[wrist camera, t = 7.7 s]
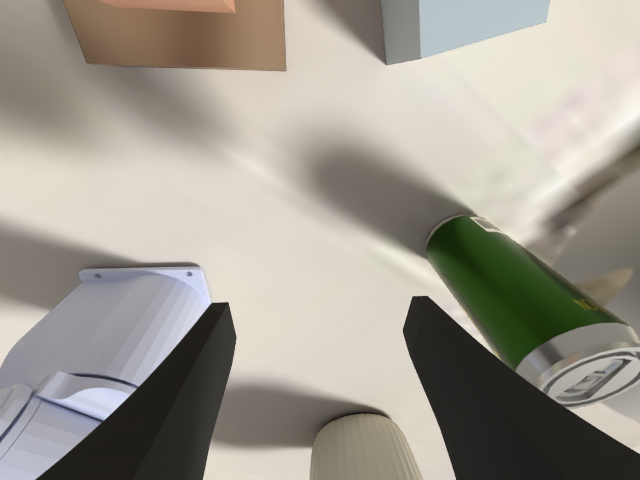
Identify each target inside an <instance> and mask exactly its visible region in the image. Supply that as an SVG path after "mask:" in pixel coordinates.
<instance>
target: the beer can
mask: <svg viewBox="0 0 640 480" xmlns="http://www.w3.org/2000/svg"><path fill="white" fill-rule="evenodd" d="M426 257H427V259H428V261H429V262H430V264H431V265H432V267H433V268H434V270H435V271H436V272H437V274H438V275H439V277H440V278H441V279H442V281H443V282H444V284H445V285H446V286H447V288H448V289H449V290H450V292H451V293H452V295H453V296H454V297H455V299H456V300H457V302H458V303H459V304H460V306H461V307H462V309H463V310H464V311H465V313H466V314H467V315H468V317H469V318H470V320H471V321H472V322H473V324H474V325H475V327H476V328H477V329H478V331H479V332H480V334H481V335H482V336H483V338H484V339H485V341H486V342H487V343H488V345H489V346H490V347H491V349H492V350H493V352H494V353H495V354H496V356H497V357H498V359H500V360H501V361H502V362H503V363H505V364H506V365H507V366H508V367H510V368H511V369H512V370H513V371H515V372H516V373H517V374H519V375H520V376H521V377H523V378H524V379H525V380H527V381H528V382H530V383H531V384H532V385H534V386H535V387H536V388H538V389H539V390H541V391H542V392H543V393H545V394H546V395H548V396H549V397H550V398H552V399H553V400H555V401H556V402H558V403H559V404H561V405H562V406H564V407H565V408H567V409H575V408H580V407H585V406H589V405H592V404H595V403H599V402H602V401H605V400H607V399H609V398H612V397H614V396H617V395H619V394H621V393H623V392H625V391H627V390H628V389H630V388H632V387H633V386H635V385H637V384H638V383H639V382H640V339H639V337H638V335H637V334H636V332H635V331H634V330H633V329H632V328H631V327H630V326H629V325H627V324H626V323H625V322H624V321H622V320H621V319H620V318H618V317H617V316H615V315H614V314H613V313H611V312H610V311H609V310H607V309H606V308H605V307H603V306H602V305H601V304H599V303H598V302H596V301H595V300H594V299H592V298H591V297H590V296H588V295H587V294H586V293H584V292H583V291H582V290H580V289H579V288H578V287H576V286H575V285H573V284H572V283H571V282H569V281H568V280H567V279H565V278H564V277H562V276H561V275H560V274H559V273H557V272H556V271H554V270H553V269H552V268H550V267H549V266H548V265H546V264H545V263H544V262H542V261H541V260H540V259H538V258H537V257H535V256H534V255H533V254H531V253H530V252H529V251H527V250H526V249H525V248H523V247H522V246H521V245H519V244H518V243H517V242H515V241H514V240H512V239H511V238H510V237H508V236H507V235H506V234H504V233H503V232H502V231H500V230H499V229H498V228H496V227H495V226H493V225H492V224H491V223H489V222H488V221H487V220H485V219H484V218H481V217H479V216H476V215H455V216H452V217H449V218H447V219H445V220H443V221H441V222H440V223H439V224H438V225H437V226H435V227H434V228H433V230H432V231H431V233H430V234H429V236H428V238H427V242H426Z"/></svg>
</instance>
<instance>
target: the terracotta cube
mask: <svg viewBox="0 0 640 480" xmlns="http://www.w3.org/2000/svg"><path fill="white" fill-rule="evenodd" d="M99 1H101V2H104V3H106V4H109V5H111V6H114V7H123V8H142V9H161V10H180V11H199V12H218V13H235V5H234V0H99Z"/></svg>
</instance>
